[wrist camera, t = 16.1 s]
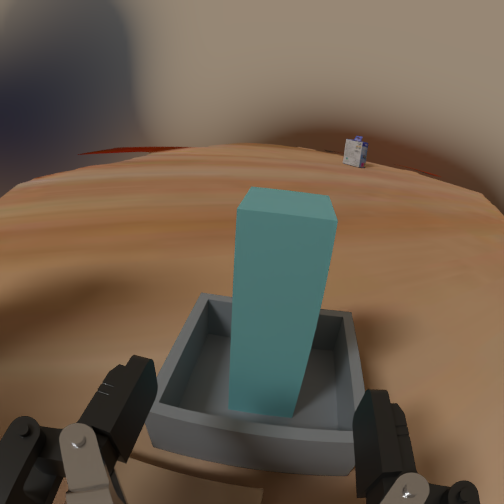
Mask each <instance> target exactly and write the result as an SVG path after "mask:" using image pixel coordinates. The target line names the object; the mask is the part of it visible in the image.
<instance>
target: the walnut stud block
mask: <svg viewBox="0 0 504 504" xmlns="http://www.w3.org/2000/svg"><path fill="white" fill-rule="evenodd" d="M115 469H116V471H117V474H118V477H119V480H120V483H121V486H122V488H123V491H124V494H125V496H126V499H127V502H128V504H261V502H262V496H263V489H259V488H252V487H245V486H239V485H233V484H227V483H222V482H217V481H212V480H207V479H203V478H198V477H194V476H190V475H186V474H182V473H178V472H174V471H171V470H167V469H164V468H160V467H157V466H154V465H151V464H147V463H144V462H141V461H138V460H135V459H132V458H130V457H129V459H128V461H127V463H126V464H125V463H123V462H120V461H117V462H116V464H115ZM64 504H67V501H65V503H64Z"/></svg>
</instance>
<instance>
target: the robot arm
mask: <svg viewBox="0 0 504 504" xmlns="http://www.w3.org/2000/svg"><path fill="white" fill-rule="evenodd" d="M157 391H158V383H157V378H156V372H155V367H154V362H153V360H152V359H148V358H144V357H141V356H137V355H133V356H132V357H131V358H130V360H129V361H128V363H127V365H126V366H123V365H120V364H119V365H118V366H116V367H115V368H114V369H112V370H111V371H110V372H109V373H108V374H107V376H106V377H105V379H104V380H103V383H102V384H101V385H100V387H99V388H98V391H97V392H96V393H95V395H94V396H93V398H92V400H91V401H90V403H89V404H88V406H87V408H86V409H85V411H84V413H83V414H82V416H81V418H80V419H79V420H78V422H77V423H74V424H70V425H68V426H67V427H65V428H64V429H56V428H49V427H42V426H39V424H38V423H37V421H36V420H35V419H33V418H31V417H28V416H21V417H18V418H16V419H15V420H14V421H13V422H12V423H11V424H10V426H9V428H8V429H7V431H6V432H5V434H4V436H3V437H2V439H1V441H0V504H52V503H53V500H54V498H55V495H56V493H57V491H58V488H59V486H60V484H61V482H62V479H63V477H66V479H67V483H68V488H69V490H68V491H67V492H66V501H67V504H128V502H127V499H126V496H125V494H124V491H123V488H122V486H121V483H120V480H119V477H118V474H117V471H116V469H115V464H116V462H117V461H120V462H123V463H125V464H126V463H127V461H128V459H129V456H130V454H131V452H132V450H133V447H134V445H135V443H136V441H137V438H138V436H139V434H140V432H141V430H142V427H143V425H144V423H145V421H146V419H147V416H148V414H149V412H150V410H151V408H152V405H153V403H154V401H155V399H156V396H157ZM352 429H353V441H354V455H355V470H356V490H357V498H366V504H480V500H479V494H478V490H477V488H476V487H475V485H474V484H472V483H471V482H469V481H459V482H457V483H455V484H454V485H452V486H451V487H447V486H440V485H434V484H430V483H428V482H427V480H426V479H425V478H424V477H423V476H421V475H420V474H418V473H417V471H416V467H415V462H414V456H413V451H412V446H411V441H410V437H409V432H408V427H407V423H406V419H405V414H404V413H403V411H402V410H401V408H400V407H399V405H398V404H397V403H390V399H389V394H388V392H387V390H371V389H368V390H366V392H365V394H364V396H363V398H362V399H361V401H360V403H359V405H358V407H357V409H356V411H355V413H354V416H353V422H352Z"/></svg>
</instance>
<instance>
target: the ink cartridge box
mask: <svg viewBox="0 0 504 504" xmlns="http://www.w3.org/2000/svg"><path fill="white" fill-rule="evenodd" d="M357 137H359V138H361V139H362V137H360V136H356V137H355V139H354V140H351V139H346V145H345V152H344V159H343V163H344V164H348V165H352V166H356V167H362V168H365V162H366V155H367V148H368V143H366V142H361V139H357Z"/></svg>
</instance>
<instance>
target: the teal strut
mask: <svg viewBox="0 0 504 504" xmlns="http://www.w3.org/2000/svg"><path fill="white" fill-rule="evenodd" d="M337 222H338V220H337V217H336V215H335V212H334V209H333V206H332V203H331V201H330V198H329V196H326V195H318V194H311V193H303V192H295V191H286V190H277V189H268V188H259V187H251V188H250V190H249V191H248V193H247V194H246V196H245V197H244V199H243V201H242V202H241V204H240V205H239V207H238V208H237V220H236V238H235V258H234V278H233V299H232V321H231V346H230V372H229V401H228V409H230V410H236V411H242V412H248V413H255V414H262V415H270V416H278V417H287V418H292V416H293V413H294V409H295V406H296V402H297V399H298V395H299V392H300V388H301V385H302V381H303V377H304V374H305V370H306V366H307V362H308V358H309V354H310V350H311V346H312V342H313V338H314V334H315V330H316V326H317V321H318V317H319V313H320V308H321V304H322V299H323V295H324V290H325V285H326V280H327V275H328V271H329V265H330V260H331V255H332V250H333V245H334V239H335V234H336V228H337Z"/></svg>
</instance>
